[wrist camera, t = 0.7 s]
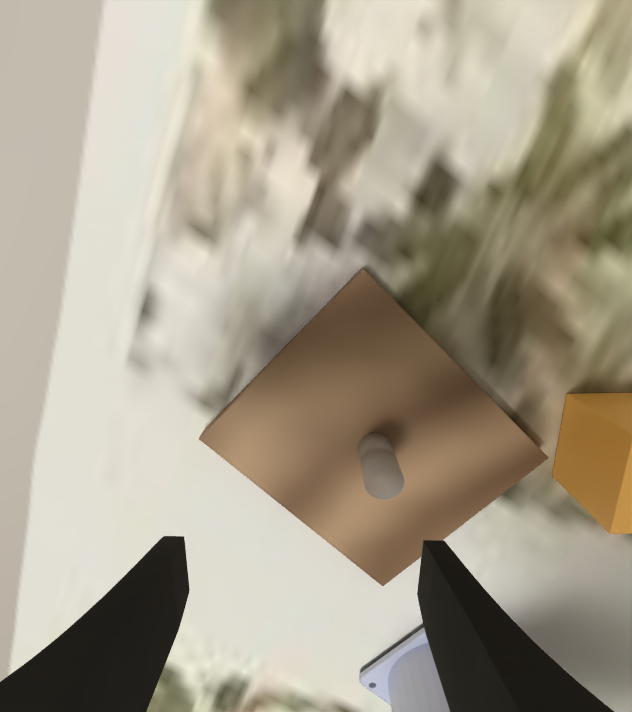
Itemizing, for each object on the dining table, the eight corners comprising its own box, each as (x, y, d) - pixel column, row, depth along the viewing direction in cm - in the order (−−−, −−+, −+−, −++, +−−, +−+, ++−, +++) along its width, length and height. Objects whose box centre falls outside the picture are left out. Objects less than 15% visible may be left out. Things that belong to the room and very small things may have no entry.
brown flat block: (538, 448, 21) (586, 493, 17) (380, 572, 24) (392, 636, 20) (362, 268, 19) (373, 274, 15) (204, 429, 21) (178, 471, 17)
